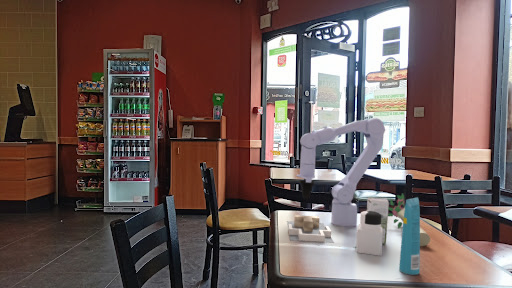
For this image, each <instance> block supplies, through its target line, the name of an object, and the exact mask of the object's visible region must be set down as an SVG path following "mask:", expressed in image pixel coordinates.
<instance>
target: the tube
mask: <svg viewBox="0 0 512 288" xmlns="http://www.w3.org/2000/svg"><path fill="white" fill-rule="evenodd" d="M404 206H405V211H404V219H403V221H402V229H401V230H402V231H401V243H400V244H401V245H400V255H399V256H400V257H399V264H398V268H399V271H400V272H401V273H402V272H403V273H402V274H405V275H410V276H411V275H412V276H414V275H416V276H417V275H420V268H421V267H420V265H421V263H420V262H421V260H420V257H421V246H420V227H421V217H420V216H421V214H420V212H421V211H420V210H421V209H420V200H419V197H418V196H417V197H414V198H408V199H406V200H405V204H404Z"/></svg>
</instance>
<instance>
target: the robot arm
mask: <svg viewBox="0 0 512 288" xmlns="http://www.w3.org/2000/svg"><path fill="white" fill-rule="evenodd" d="M353 132H359V133H361V134H362V135H363V136H364V137H365V140H366V143H367V144H366V146H364V149H363V151H362V152H361V154H360V155H358V157H357V159H356V161H355V162H354V164H353V165H352V166H351V168H350V169H349V171H348V172H347V173H346V175H345V176H344V178H341V180H340V181H339V182H338V183H337V184H335V185H334V186H333V187H332V189H331V195H332V198H333V199H332V202H331V222H330V223H331V224H332V225H334V226H341V227H343V226H344V227H349V226H350V227H357V226H358V225H357V222H358V207H357V204H356V203H352V200H353V199H354V194H355V192H356V190H357V185H358V183H359V182H360V180H361V179H362V177H363V176H364V174H365V173H366V172H367V170H368V169H369V167H370V166H371V164H372V163H373V162H374V160H375V158H376V157H377V155H378V154H379V152H380V151H381V149H383V147H384V146H383V145H384V136H385V135H384V134H385V132H386V128H385V124H384V122H383V121H382V120H381V119H380V118H377V117H374V118H367V119H364V120H363V119H362V120H355V121H352V122H350V123H347V124H343V125H340V126H338V127H335V128H333V127H331V126H327V125H325V126H323V127H322V128H321V129H318V130H315V129H314V130H313V129H312V130H311V132H308V133H305V134H302V136H301V138H300V139H299V142H300V145H301V150H300V160H299V163H300V165H299V166H300V167H299V174H296V177H298V178H302V179H300V180H298V181H299V184H300V186H301V193H302V199H303V200H309V199H310V197H311V192H312V190H313V187H314V185H315V184H316V183H315V181H314V179H315V178H316V175H315V172H316V155H317V154H316V147H317V146H320V145H324V144H327V143H330V142H333V141H335V140H336V138H337V137H339V136H341V135H345V134H350V133H353Z"/></svg>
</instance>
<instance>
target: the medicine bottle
mask: <svg viewBox="0 0 512 288" xmlns="http://www.w3.org/2000/svg"><path fill="white" fill-rule="evenodd" d="M359 220H360V221H359V222H360V223H359V224H358V225H357V226H358V227H357V232H356V233H357V234H356V250H355V252H356V253H358V254H366V255H373V256H374V255H375V256H380V257H381V256H382V251H383V244H382V236H383V228H382V227H381V214H380V213H378V212H374V211H367V210H364V211H361V212H360V219H359Z"/></svg>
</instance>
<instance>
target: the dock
mask: <svg viewBox="0 0 512 288" xmlns="http://www.w3.org/2000/svg"><path fill="white" fill-rule="evenodd" d="M324 226H325V230H319V235H318V234H303V233H302V230H301V229H295V228H292V224H289V226H288V225H287V230H288V236H289V235H298V237H299V240H300V241H299V242H307V241H317V242H316V243H324V242H325V237H331V238H332V230H331V228H330V226H328V225H324Z"/></svg>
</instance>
